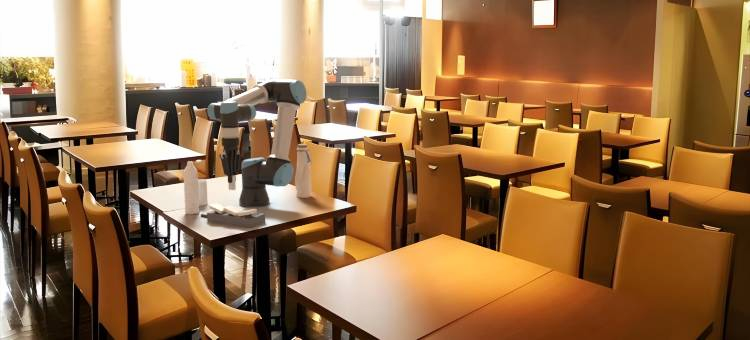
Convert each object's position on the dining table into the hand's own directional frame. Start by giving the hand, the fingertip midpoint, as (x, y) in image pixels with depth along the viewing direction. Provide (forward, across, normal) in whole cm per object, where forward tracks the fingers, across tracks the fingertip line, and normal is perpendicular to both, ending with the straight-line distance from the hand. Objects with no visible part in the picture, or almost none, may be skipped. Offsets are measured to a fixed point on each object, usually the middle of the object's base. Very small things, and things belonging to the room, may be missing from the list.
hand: (232, 189), depth 272 cm
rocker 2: (+10, 0, 0) cm, 10 cm away
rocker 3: (+10, 0, +8) cm, 13 cm away
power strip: (+15, -2, -4) cm, 16 cm away
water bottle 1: (+16, -6, -28) cm, 33 cm away
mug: (+16, -18, -38) cm, 45 cm away
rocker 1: (+10, 0, -8) cm, 13 cm away
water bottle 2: (+16, -59, 0) cm, 61 cm away
